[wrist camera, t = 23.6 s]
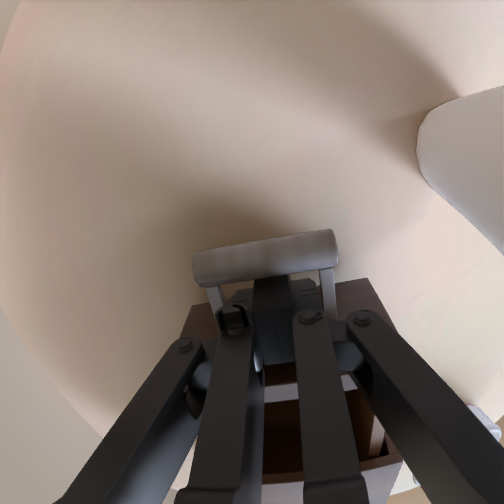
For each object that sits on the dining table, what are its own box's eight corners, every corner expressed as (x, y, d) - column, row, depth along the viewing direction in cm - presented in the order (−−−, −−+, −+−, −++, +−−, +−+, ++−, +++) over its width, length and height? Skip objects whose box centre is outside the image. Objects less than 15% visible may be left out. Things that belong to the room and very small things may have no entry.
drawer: (167, 228, 18) (111, 295, 11) (361, 194, 17) (421, 245, 10) (237, 426, 25) (230, 500, 18) (364, 409, 24) (382, 482, 17)
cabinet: (217, 383, 24) (199, 484, 15) (371, 361, 23) (404, 460, 14) (252, 464, 30) (247, 536, 21) (363, 450, 28) (377, 521, 19)
